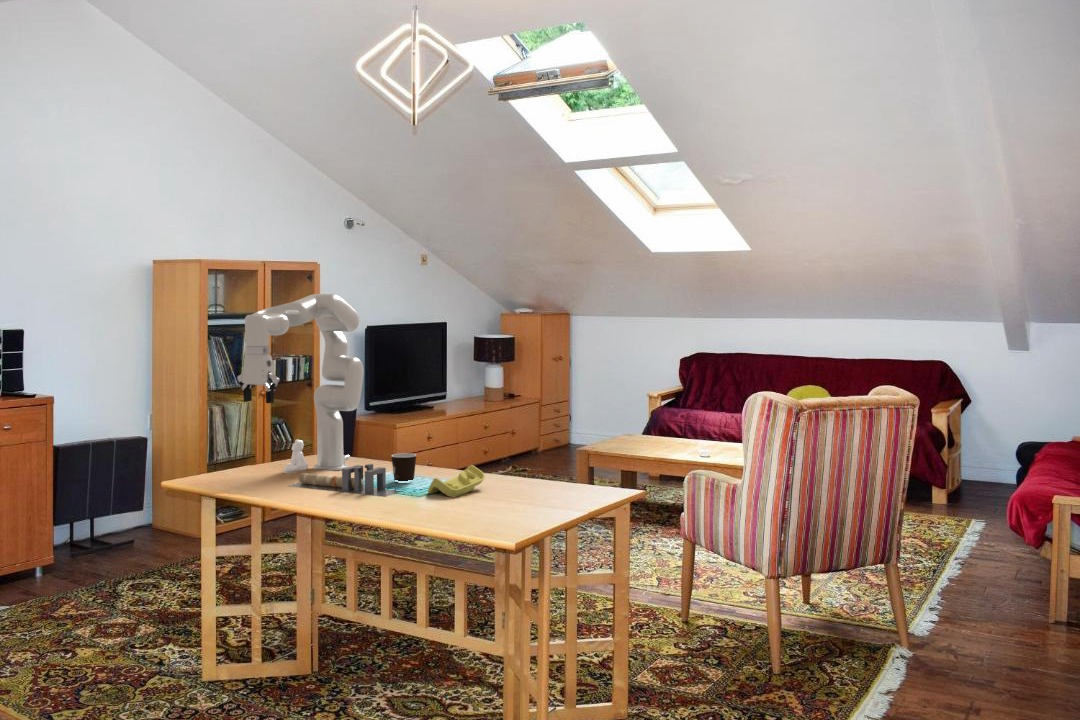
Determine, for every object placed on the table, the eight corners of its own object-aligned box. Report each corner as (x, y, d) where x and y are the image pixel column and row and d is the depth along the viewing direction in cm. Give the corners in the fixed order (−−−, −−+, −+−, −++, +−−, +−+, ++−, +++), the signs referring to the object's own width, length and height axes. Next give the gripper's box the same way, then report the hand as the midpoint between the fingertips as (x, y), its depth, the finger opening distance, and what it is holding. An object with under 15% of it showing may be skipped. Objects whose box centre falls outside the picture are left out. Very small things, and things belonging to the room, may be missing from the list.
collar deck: (309, 482, 336) (308, 457, 335) (406, 492, 319) (405, 466, 318) (286, 488, 325) (285, 462, 324) (385, 499, 308) (385, 472, 307)
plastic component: (454, 491, 309) (432, 475, 314) (447, 510, 312) (425, 494, 316) (490, 477, 326) (468, 462, 330) (483, 495, 328) (462, 480, 333)
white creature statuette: (285, 469, 361) (284, 437, 360) (308, 468, 362) (308, 437, 362) (283, 473, 351) (282, 441, 351) (307, 473, 353) (307, 440, 352)
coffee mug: (414, 486, 328) (414, 457, 328) (389, 486, 329) (389, 457, 328) (419, 480, 340) (419, 452, 339) (395, 479, 340) (395, 451, 339)
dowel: (299, 484, 328) (298, 474, 327) (306, 482, 331) (305, 472, 331) (357, 490, 318) (356, 479, 317) (363, 488, 321) (363, 477, 320)
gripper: (285, 351, 322) (286, 402, 323) (245, 350, 329) (246, 399, 331) (269, 352, 315) (271, 404, 316) (229, 351, 323) (231, 402, 324)
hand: (258, 402), depth 323 cm, fingers open, 9 cm apart
